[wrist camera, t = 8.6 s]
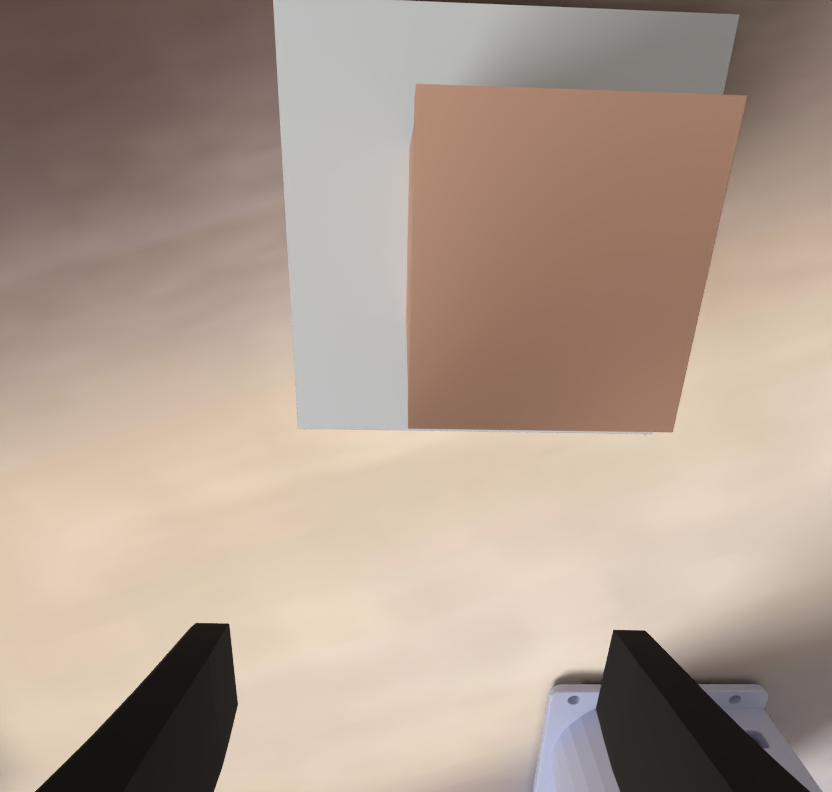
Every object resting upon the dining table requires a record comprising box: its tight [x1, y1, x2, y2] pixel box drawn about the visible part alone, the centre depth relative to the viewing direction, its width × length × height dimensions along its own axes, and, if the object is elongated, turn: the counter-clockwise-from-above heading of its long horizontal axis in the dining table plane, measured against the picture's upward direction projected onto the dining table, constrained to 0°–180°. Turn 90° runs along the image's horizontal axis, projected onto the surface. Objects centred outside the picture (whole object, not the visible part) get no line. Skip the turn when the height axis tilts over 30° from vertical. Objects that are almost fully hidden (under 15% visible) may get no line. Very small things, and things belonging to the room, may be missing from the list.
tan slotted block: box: [406, 84, 747, 432], centre depth 12 cm, size 6×5×7 cm
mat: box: [273, 0, 740, 434], centre depth 16 cm, size 12×12×1 cm
